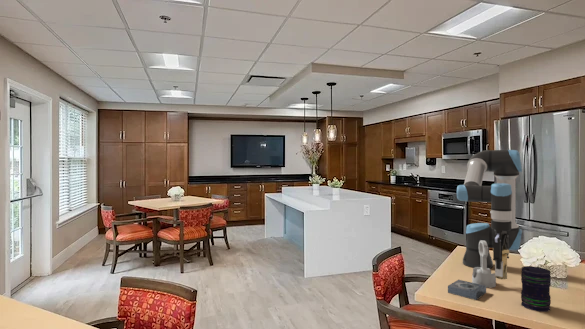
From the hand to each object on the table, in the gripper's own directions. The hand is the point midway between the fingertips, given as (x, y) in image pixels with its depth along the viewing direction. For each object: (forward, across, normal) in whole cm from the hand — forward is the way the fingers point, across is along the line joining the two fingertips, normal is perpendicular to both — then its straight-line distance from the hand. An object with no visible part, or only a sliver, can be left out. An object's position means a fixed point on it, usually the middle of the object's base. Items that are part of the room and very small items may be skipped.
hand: (501, 274), depth 151 cm
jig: (+10, +3, -13) cm, 17 cm away
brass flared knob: (+1, 0, 0) cm, 1 cm away
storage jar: (+11, -1, +12) cm, 16 cm away
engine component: (+11, -15, -12) cm, 22 cm away
